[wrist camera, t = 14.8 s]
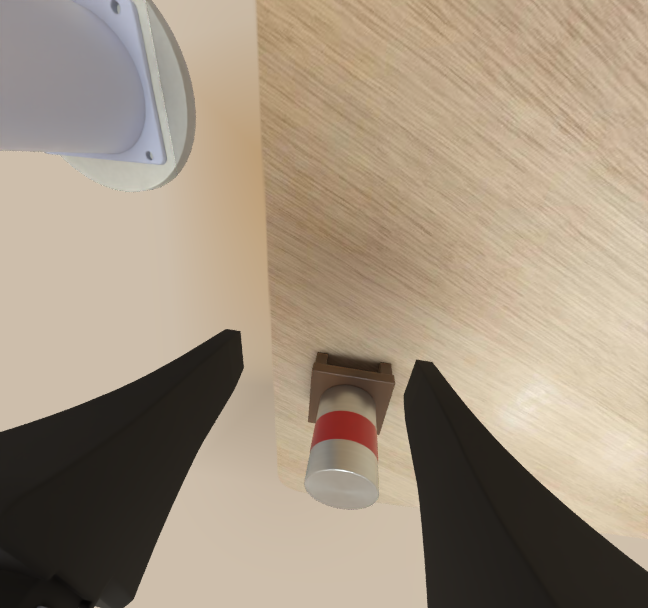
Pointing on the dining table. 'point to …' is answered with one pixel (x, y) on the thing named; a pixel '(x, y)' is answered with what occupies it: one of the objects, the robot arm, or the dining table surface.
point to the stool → (369, 381)
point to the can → (344, 450)
